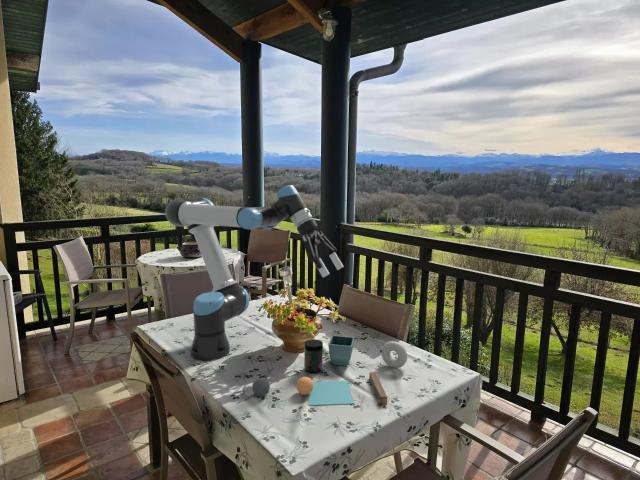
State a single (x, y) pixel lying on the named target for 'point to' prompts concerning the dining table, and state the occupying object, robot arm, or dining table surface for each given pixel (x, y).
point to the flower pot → (340, 349)
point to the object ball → (304, 385)
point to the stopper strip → (378, 388)
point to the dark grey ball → (261, 387)
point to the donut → (398, 349)
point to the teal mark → (330, 393)
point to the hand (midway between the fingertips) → (333, 272)
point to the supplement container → (313, 356)
